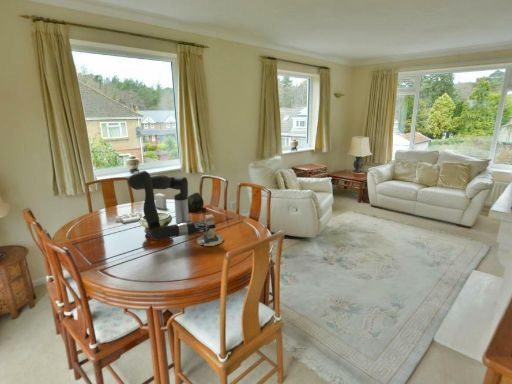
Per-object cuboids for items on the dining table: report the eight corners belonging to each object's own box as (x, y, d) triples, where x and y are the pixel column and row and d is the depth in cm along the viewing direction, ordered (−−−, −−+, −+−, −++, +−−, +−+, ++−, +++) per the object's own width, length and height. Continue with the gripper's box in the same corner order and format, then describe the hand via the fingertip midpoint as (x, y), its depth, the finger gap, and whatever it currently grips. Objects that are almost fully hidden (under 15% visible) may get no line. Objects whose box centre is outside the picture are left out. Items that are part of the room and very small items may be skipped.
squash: (179, 203, 239) (188, 191, 232) (191, 199, 252) (200, 188, 245) (189, 216, 236) (199, 205, 229) (201, 212, 249) (210, 201, 242)
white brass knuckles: (119, 225, 207) (114, 219, 219) (145, 220, 217) (139, 214, 229) (118, 220, 206) (114, 215, 218) (144, 215, 216) (139, 210, 228)
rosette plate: (194, 238, 184) (194, 233, 184) (218, 234, 191) (218, 229, 190) (200, 248, 170) (200, 243, 169) (226, 243, 177) (226, 238, 176)
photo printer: (167, 208, 244) (166, 193, 241) (163, 209, 241) (162, 195, 238) (158, 206, 249) (157, 192, 246) (154, 207, 246) (153, 193, 243)
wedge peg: (205, 236, 181) (204, 215, 177) (212, 235, 183) (211, 214, 179) (207, 239, 177) (206, 217, 173) (214, 238, 179) (214, 216, 175)
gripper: (188, 227, 165) (217, 222, 172) (183, 219, 177) (210, 215, 184) (188, 239, 167) (217, 234, 174) (183, 230, 179) (211, 226, 186)
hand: (213, 224), depth 179 cm, fingers closed on wedge peg, 4 cm apart
